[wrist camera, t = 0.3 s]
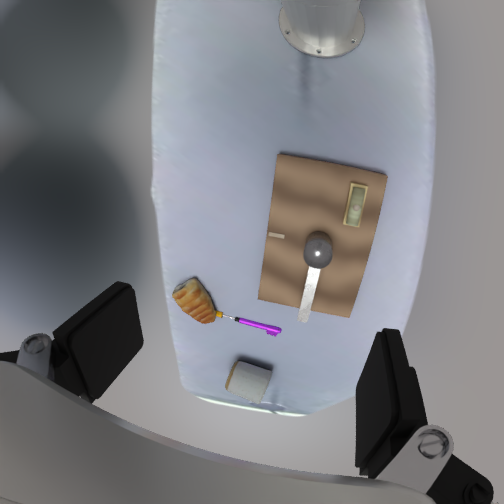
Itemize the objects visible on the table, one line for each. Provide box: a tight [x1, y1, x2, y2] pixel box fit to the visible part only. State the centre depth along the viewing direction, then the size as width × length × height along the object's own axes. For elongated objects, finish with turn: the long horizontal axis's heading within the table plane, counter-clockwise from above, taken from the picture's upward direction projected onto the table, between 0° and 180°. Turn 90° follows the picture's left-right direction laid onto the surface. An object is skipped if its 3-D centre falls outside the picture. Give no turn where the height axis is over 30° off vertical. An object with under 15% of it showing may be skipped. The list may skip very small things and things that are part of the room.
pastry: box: [172, 278, 216, 324], centre depth 54 cm, size 9×7×4 cm
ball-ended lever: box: [297, 231, 333, 322], centre depth 43 cm, size 14×4×4 cm, turn 173°
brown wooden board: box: [258, 154, 388, 318], centre depth 43 cm, size 24×16×5 cm, turn 173°
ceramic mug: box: [225, 361, 272, 404], centre depth 56 cm, size 11×8×8 cm
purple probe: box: [215, 311, 281, 336], centre depth 55 cm, size 3×1×16 cm
